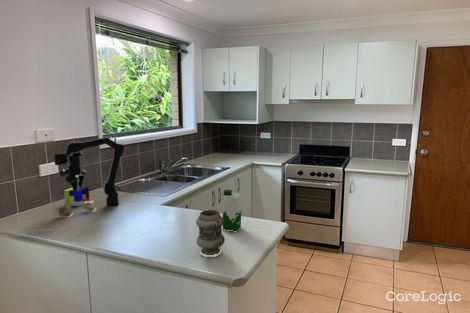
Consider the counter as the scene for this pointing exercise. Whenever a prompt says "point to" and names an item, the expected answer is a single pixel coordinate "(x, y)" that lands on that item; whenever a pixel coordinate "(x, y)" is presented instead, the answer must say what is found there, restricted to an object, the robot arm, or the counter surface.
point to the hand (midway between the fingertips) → (77, 189)
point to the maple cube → (88, 206)
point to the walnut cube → (65, 210)
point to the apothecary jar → (210, 231)
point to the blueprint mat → (79, 213)
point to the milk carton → (231, 210)
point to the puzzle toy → (76, 196)
